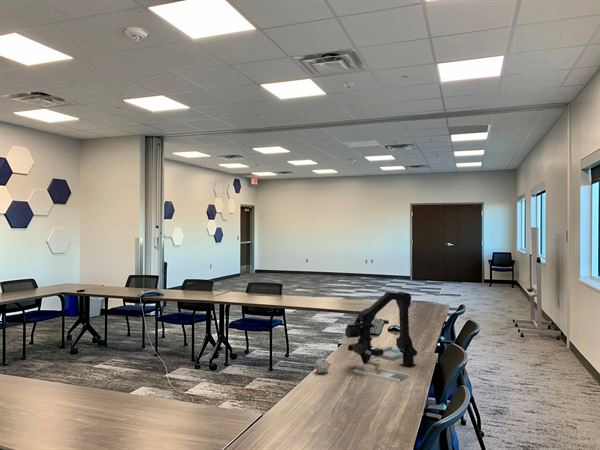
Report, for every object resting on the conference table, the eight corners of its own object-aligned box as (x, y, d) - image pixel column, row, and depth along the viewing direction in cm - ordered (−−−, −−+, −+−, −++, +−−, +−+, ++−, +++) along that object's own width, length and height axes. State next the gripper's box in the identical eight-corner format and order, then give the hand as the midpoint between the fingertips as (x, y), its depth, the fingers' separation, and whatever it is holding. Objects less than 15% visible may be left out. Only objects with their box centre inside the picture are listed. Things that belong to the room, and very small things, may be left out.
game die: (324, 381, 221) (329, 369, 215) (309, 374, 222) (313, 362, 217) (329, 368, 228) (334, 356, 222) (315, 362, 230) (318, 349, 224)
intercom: (363, 352, 245) (388, 344, 262) (363, 360, 245) (389, 351, 262) (382, 357, 235) (407, 348, 253) (382, 365, 235) (408, 356, 252)
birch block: (370, 370, 226) (370, 361, 226) (380, 372, 222) (380, 363, 222) (364, 372, 221) (364, 364, 221) (374, 375, 217) (374, 366, 217)
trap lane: (365, 367, 231) (365, 364, 231) (410, 377, 214) (410, 374, 214) (353, 372, 223) (353, 369, 223) (399, 383, 206) (399, 380, 206)
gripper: (341, 336, 225) (341, 366, 225) (372, 342, 213) (372, 373, 212) (353, 332, 233) (354, 361, 233) (383, 338, 221) (384, 368, 221)
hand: (365, 366), depth 225 cm, fingers closed
